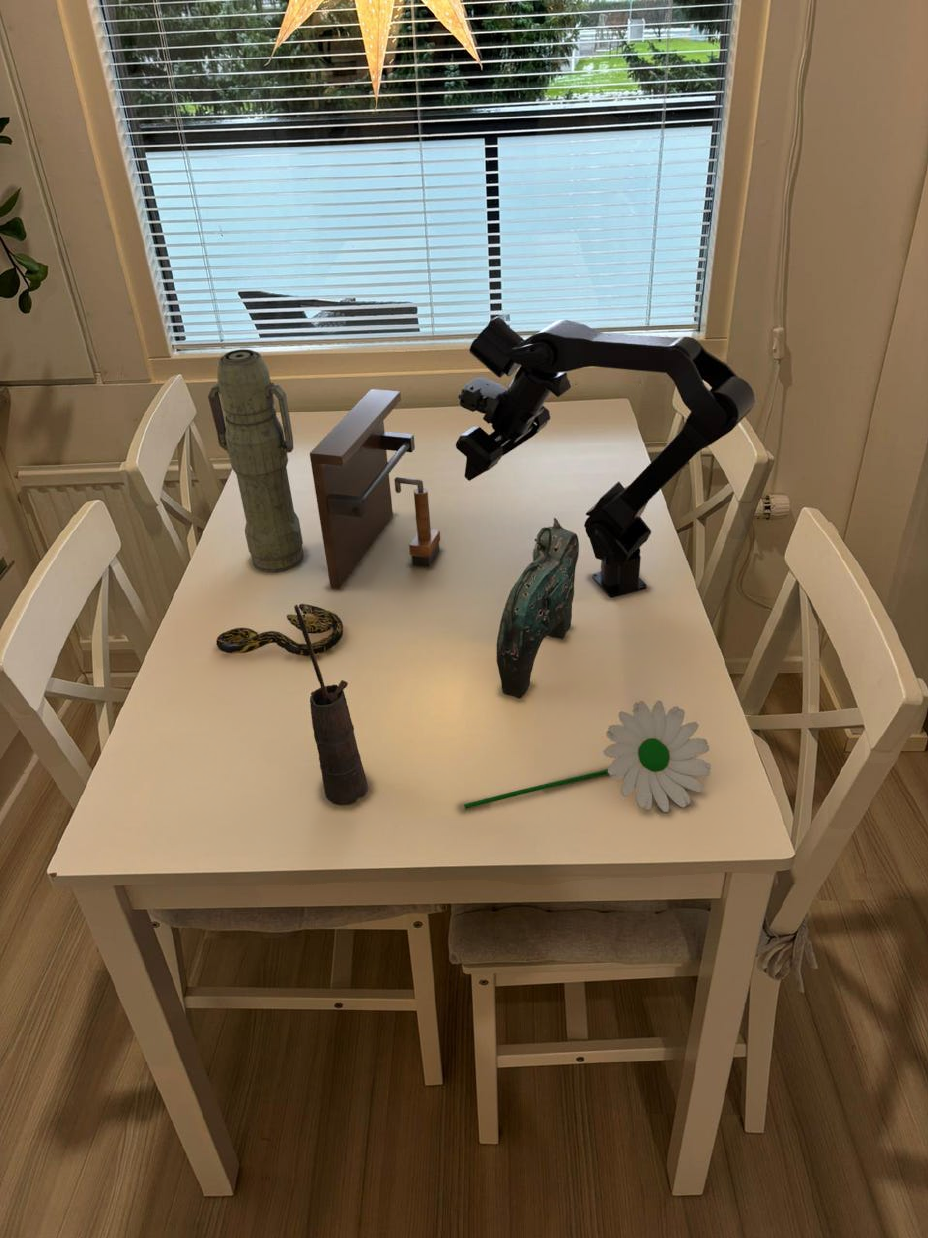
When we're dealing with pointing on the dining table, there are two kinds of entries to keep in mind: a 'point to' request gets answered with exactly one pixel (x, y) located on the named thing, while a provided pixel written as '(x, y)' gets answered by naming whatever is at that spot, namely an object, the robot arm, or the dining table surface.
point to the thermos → (258, 457)
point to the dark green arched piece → (537, 607)
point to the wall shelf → (356, 481)
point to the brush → (421, 526)
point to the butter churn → (335, 737)
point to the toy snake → (314, 621)
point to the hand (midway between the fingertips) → (483, 466)
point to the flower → (646, 758)
